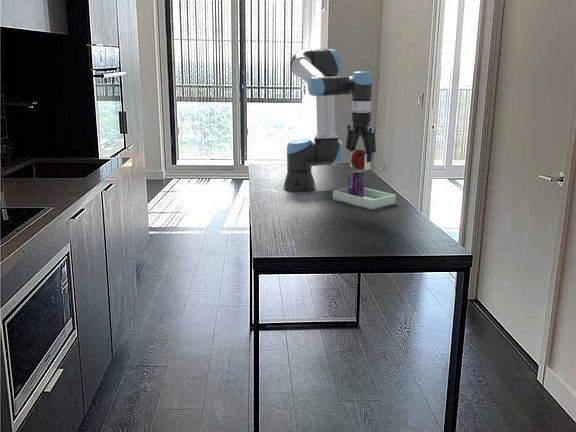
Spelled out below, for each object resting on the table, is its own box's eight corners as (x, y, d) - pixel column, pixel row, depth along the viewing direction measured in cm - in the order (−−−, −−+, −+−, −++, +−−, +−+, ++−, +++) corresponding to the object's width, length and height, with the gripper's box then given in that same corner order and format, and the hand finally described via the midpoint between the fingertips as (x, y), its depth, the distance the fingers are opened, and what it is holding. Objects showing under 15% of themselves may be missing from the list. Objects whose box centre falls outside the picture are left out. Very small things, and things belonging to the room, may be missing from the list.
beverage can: (364, 199, 245) (364, 172, 241) (347, 199, 245) (348, 172, 242) (363, 195, 251) (364, 169, 248) (347, 195, 252) (348, 169, 249)
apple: (348, 170, 228) (348, 150, 225) (353, 166, 234) (354, 147, 232) (365, 171, 225) (366, 151, 223) (371, 167, 232) (371, 148, 229)
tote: (332, 199, 249) (332, 190, 248) (356, 194, 258) (356, 185, 257) (371, 209, 231) (371, 200, 230) (395, 203, 240) (395, 194, 239)
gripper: (337, 110, 229) (336, 165, 235) (373, 114, 213) (371, 173, 219) (350, 109, 233) (349, 163, 240) (386, 112, 217) (384, 170, 224)
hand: (360, 168), depth 229 cm, fingers closed on apple, 8 cm apart
